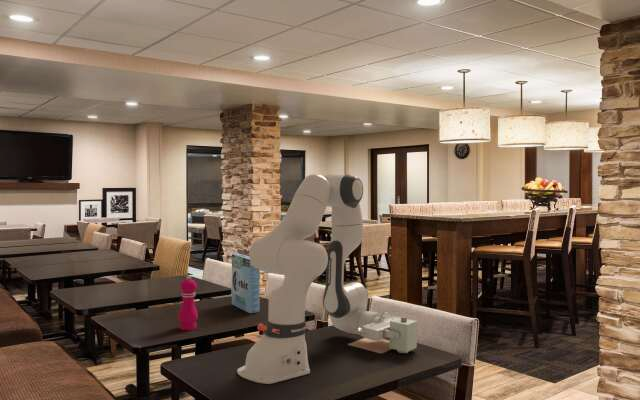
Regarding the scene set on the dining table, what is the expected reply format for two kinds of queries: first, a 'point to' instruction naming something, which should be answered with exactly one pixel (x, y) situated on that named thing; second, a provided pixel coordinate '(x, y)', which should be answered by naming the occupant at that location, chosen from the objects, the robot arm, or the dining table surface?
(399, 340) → the pale green square canister
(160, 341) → the dining table surface
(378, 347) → the mat
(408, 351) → the cream short cylinder
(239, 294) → the gum box
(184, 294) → the pepper mill
